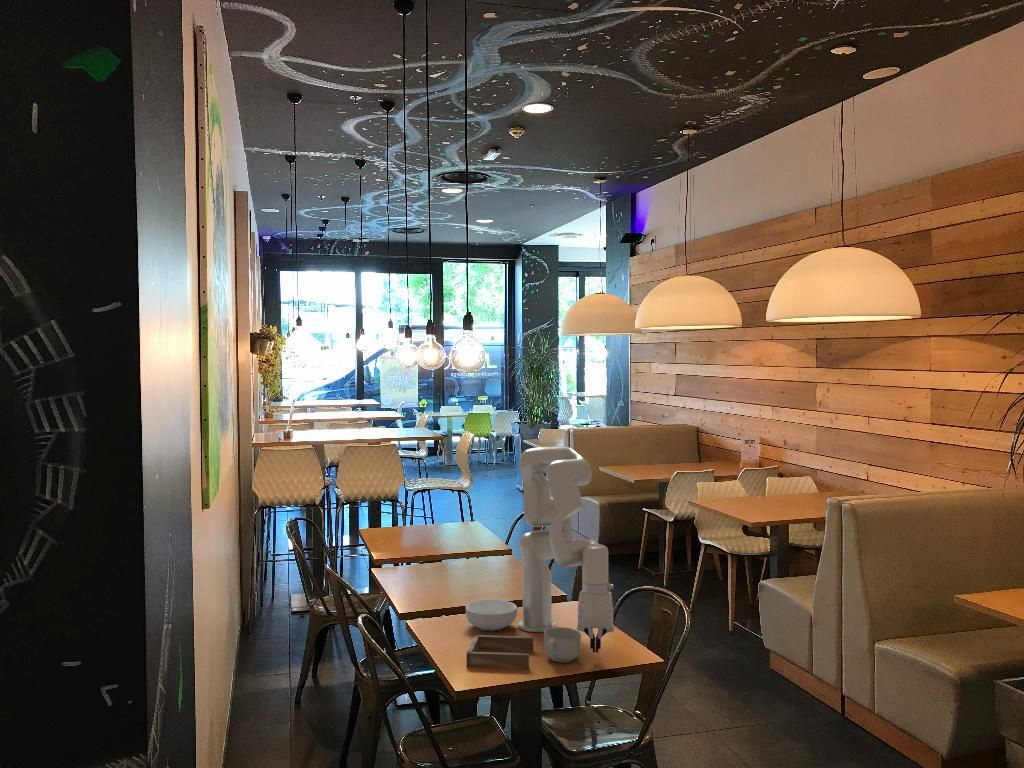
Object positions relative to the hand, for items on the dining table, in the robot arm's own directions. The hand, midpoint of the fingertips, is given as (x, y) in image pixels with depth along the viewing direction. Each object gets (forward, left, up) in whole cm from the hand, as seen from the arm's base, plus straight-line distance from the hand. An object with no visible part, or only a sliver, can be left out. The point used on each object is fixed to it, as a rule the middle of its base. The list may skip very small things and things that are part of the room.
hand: (595, 651), depth 238 cm
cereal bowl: (-29, -34, -3) cm, 45 cm away
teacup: (0, -10, -3) cm, 11 cm away
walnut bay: (0, -27, -3) cm, 27 cm away
